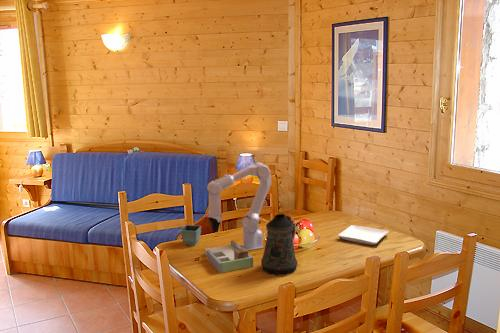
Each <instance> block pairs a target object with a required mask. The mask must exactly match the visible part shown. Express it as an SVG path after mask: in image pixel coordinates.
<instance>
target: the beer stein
mask: <svg viewBox="0 0 500 333" xmlns="http://www.w3.org/2000/svg"><path fill="white" fill-rule="evenodd" d="M265 228H266V231H267V233H266V239H265V245H264V250H263V255H262V258H261V260H260V263H261V269H262V271H263V272H264V273H266V274H268V275H271V276H272V275H273V276H277V277H278V276H287V275H291V274H293V273H295V272H296V271H297V266H298V260H297V257H296V254H295V245H294V238H295V237H296V236H295V234H296V224H295V223H294V221H293V220H292V217H291V216H290V215H289V216H288V215H285V214H284V213H283V214H282V213H280V214H276V215H274V217H273V218H272V219H271V220H270V221H268V222H267V223H266V225H265Z"/></svg>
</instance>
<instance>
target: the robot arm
mask: <svg viewBox="0 0 500 333" xmlns="http://www.w3.org/2000/svg"><path fill="white" fill-rule="evenodd" d="M248 176H253V177H257V179H258V180H259V186H258V188H257V190H256V193H255V194H254V197H253V201H252V203H251V206H250V208H249V210H248V211H247V212H246V213H245V216H243V218H242V220H241V225H242V227H243V228H242V234H243V235H242V237H243V241H242V242H243V244H240V247H241V248H245V249H246V250H247V251H248V252H249V251H252V250H258V249H263V248H264V246H263V245H264V244H263V233H262V232H263V231H262V230H261V229H259V225H260V224H259V222H260V213H261V211H262V208H263V205H264V203H265V200H266V197H267V195H268V192H269V190H270V187H271V185H272V176H271V170H270V168H269V167H268V165H265V164H264V163H262V162H260V161H256V162H254V163H251V164H249V165H248V166H246V167H245V168H243V169H241V170H239V171H238V172H236V173H234V174H224V175H223V176H222V177H221V178H219V179H218V178H217V179H214V181H213V180H212V181H210V182H208V184H207V186H206V189H207V191H208V212H207V215H206V217H207V218H208V220H209V223H210V227H211V229H212V232H213V233H216V234H217V233H218V232H219V228H220V225H221V223H223V218H222V213H221V212H222V210H221V192H222V191H223V190H226V189H228V188H230V187H232V186H234V184H235V182H236V181H239V180H242V179H244V178H246V177H248Z"/></svg>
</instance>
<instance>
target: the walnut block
mask: <svg viewBox="0 0 500 333" xmlns="http://www.w3.org/2000/svg"><path fill="white" fill-rule="evenodd" d="M248 254H249V250H248V251H247V250H246V249H245V248H243V247H241V248H239V249H234V260H236V259H241V258H247V257H248Z"/></svg>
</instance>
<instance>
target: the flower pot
mask: <svg viewBox="0 0 500 333" xmlns="http://www.w3.org/2000/svg"><path fill="white" fill-rule="evenodd" d="M179 232H180V236H181V239H182V242H183V243H184V245H185V246H192V247H193V246H196V245H197V244H198V242H199V240H200V238H201V233H202V226H201V225H192V224H191V225H190V224H186V225H184V226H183V227H182V228H181V229H180V231H179Z"/></svg>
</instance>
